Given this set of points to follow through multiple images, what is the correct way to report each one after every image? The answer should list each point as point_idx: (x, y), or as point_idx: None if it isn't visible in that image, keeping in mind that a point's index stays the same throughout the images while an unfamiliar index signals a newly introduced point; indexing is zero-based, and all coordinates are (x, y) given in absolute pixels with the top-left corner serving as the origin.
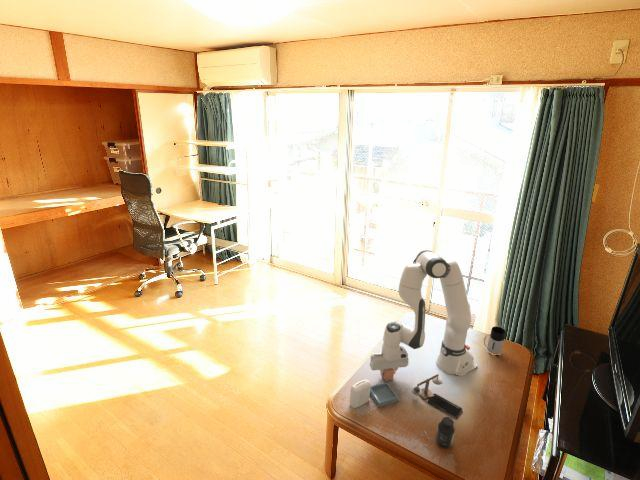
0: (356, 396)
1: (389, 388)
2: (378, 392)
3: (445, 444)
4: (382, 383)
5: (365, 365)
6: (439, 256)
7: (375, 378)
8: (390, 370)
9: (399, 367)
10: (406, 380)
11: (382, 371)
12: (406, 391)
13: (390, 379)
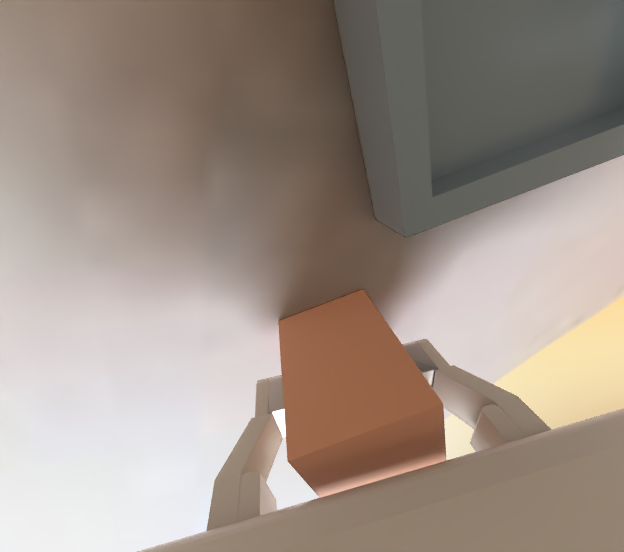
0: None
1: (413, 88)
2: (583, 34)
3: None
4: (491, 199)
5: None
6: None
7: (445, 307)
8: (367, 436)
9: (174, 548)
10: (118, 316)
11: None
12: (88, 93)
13: (310, 310)
